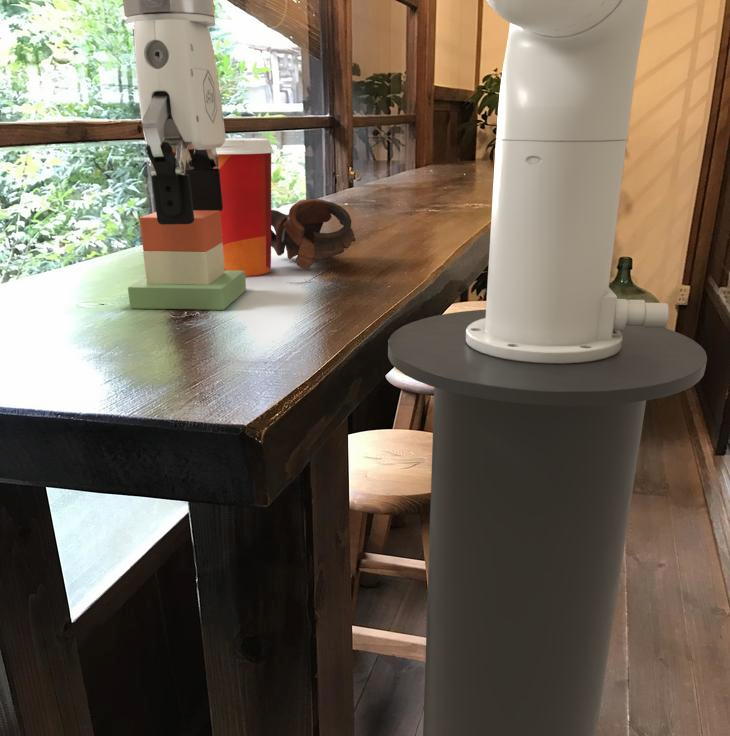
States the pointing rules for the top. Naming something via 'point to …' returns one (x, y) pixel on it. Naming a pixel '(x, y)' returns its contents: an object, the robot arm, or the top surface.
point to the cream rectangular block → (184, 266)
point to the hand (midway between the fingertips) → (192, 217)
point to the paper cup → (246, 204)
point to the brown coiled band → (310, 231)
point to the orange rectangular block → (182, 233)
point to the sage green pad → (188, 294)
